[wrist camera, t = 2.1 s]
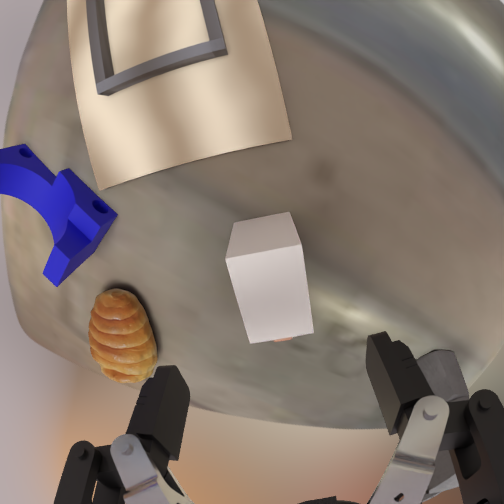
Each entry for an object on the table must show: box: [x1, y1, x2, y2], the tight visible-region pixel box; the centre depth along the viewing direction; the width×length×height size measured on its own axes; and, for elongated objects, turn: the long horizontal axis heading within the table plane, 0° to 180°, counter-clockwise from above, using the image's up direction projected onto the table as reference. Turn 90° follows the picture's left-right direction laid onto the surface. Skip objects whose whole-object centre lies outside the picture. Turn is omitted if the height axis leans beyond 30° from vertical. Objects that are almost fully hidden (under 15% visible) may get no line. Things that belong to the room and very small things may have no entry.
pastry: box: [88, 288, 157, 383], centre depth 22 cm, size 9×7×4 cm
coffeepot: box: [416, 350, 470, 504], centre depth 20 cm, size 15×9×18 cm, turn 143°
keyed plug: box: [225, 212, 314, 344], centre depth 19 cm, size 4×7×6 cm, turn 12°
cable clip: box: [0, 144, 118, 287], centre depth 17 cm, size 12×4×6 cm, turn 46°
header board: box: [67, 0, 292, 191], centre depth 13 cm, size 14×20×2 cm
